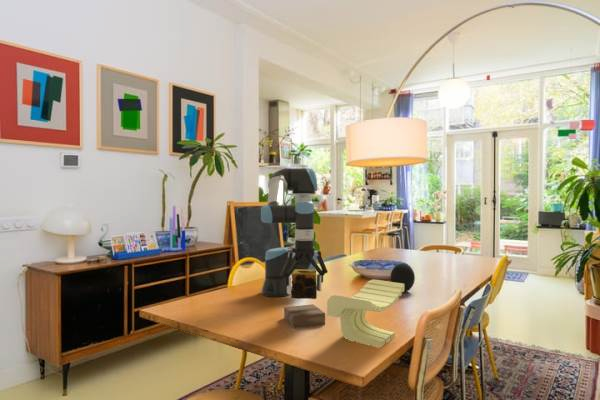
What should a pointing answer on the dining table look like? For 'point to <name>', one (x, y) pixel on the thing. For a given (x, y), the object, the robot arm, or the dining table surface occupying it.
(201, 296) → the dining table surface
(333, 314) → the slatted curved stool
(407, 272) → the decorative egg
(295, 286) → the candle
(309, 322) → the walnut block
